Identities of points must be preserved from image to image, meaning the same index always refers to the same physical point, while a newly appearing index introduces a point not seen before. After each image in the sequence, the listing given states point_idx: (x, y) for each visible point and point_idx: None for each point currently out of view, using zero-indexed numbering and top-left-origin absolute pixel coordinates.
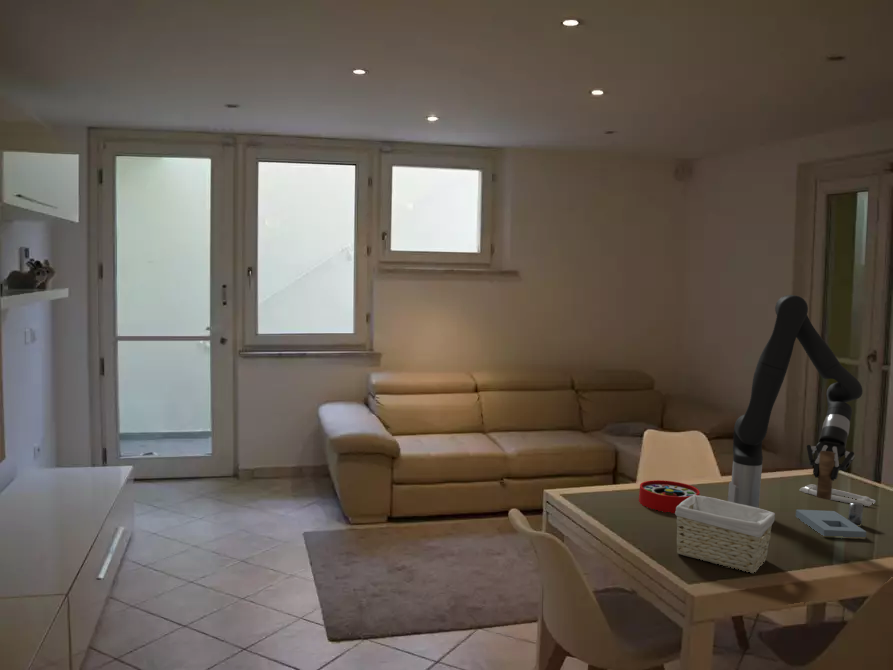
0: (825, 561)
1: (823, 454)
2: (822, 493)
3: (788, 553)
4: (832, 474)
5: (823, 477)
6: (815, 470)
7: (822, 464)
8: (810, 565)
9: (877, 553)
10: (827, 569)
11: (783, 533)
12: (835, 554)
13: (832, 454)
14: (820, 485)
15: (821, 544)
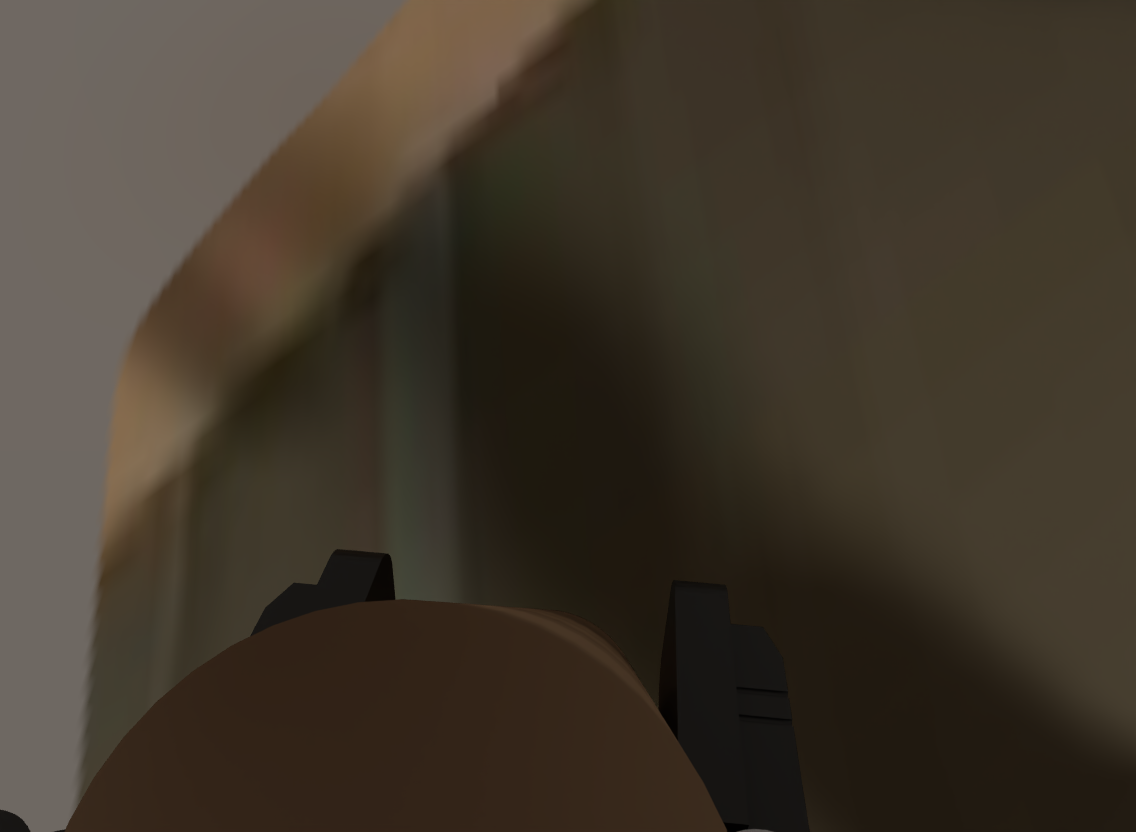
0: (491, 186)
1: (561, 643)
2: (554, 610)
3: (733, 187)
4: (351, 585)
5: (544, 610)
6: (731, 646)
7: (579, 631)
8: (572, 52)
9: (148, 610)
10: (470, 48)
11: (858, 652)
12: (437, 377)
13: (156, 714)
14: (591, 626)
15: (547, 554)
